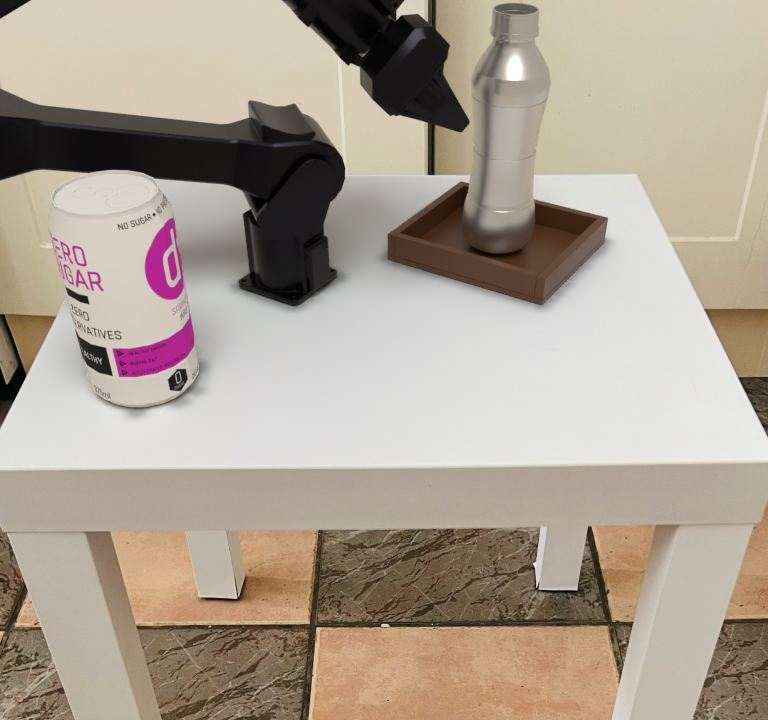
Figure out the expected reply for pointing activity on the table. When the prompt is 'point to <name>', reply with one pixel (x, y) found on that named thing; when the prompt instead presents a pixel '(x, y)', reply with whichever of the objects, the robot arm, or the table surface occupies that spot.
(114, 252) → the white soda can
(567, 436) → the table surface
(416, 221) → the tray
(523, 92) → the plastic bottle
